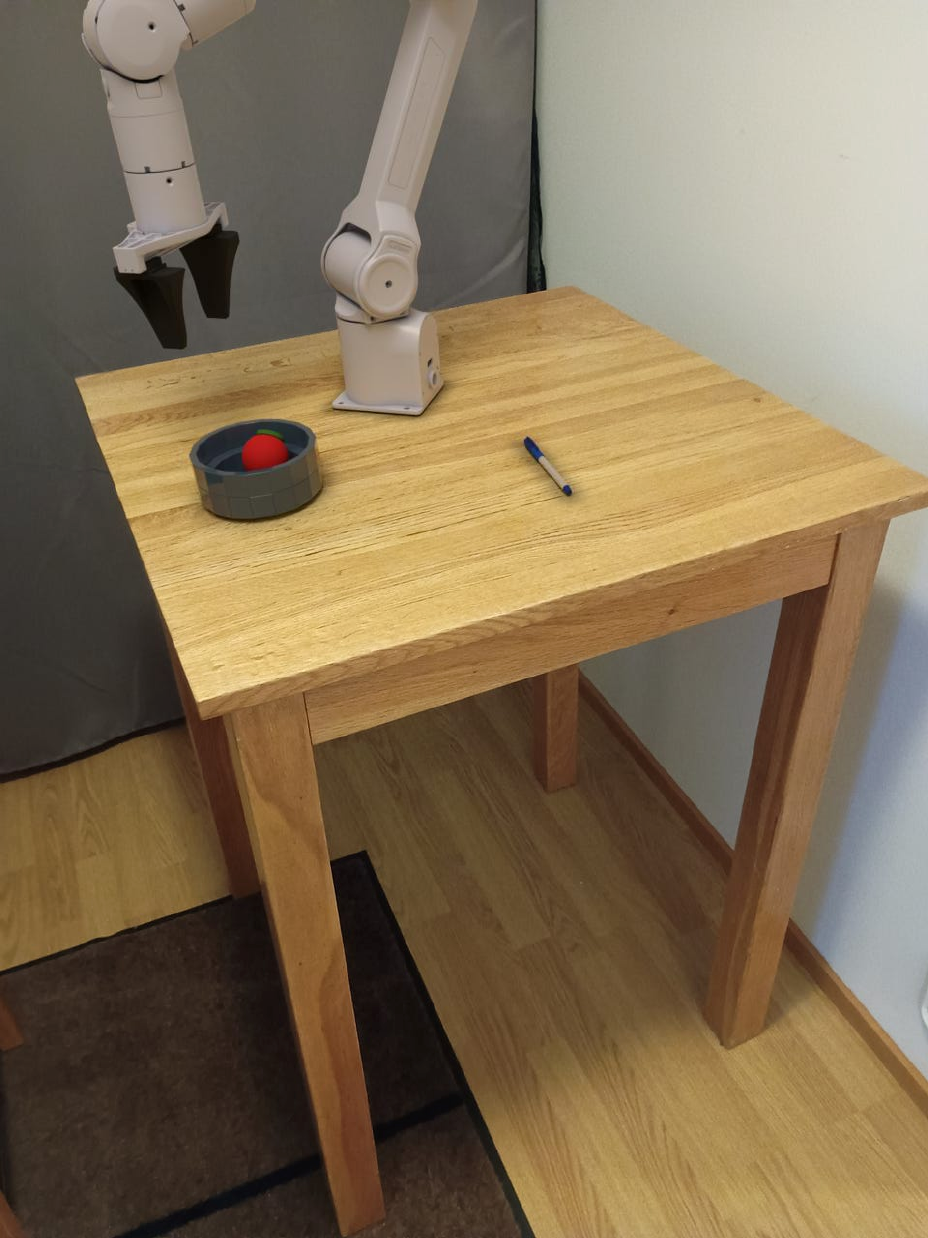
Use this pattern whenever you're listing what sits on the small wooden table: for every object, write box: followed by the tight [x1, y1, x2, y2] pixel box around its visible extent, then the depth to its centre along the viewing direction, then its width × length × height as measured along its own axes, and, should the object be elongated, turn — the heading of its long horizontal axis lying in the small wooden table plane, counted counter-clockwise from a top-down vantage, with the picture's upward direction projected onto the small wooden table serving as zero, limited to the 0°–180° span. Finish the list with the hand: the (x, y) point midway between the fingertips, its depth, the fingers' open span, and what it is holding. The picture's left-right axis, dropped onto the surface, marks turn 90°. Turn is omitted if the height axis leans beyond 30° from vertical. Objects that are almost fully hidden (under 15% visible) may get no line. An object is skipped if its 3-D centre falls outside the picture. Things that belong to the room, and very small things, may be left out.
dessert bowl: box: [188, 418, 324, 520], centre depth 79 cm, size 10×10×4 cm
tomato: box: [242, 429, 289, 472], centre depth 80 cm, size 4×4×4 cm
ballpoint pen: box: [523, 436, 573, 495], centre depth 80 cm, size 10×1×1 cm, turn 19°
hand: (197, 331), depth 83 cm, fingers open, 7 cm apart
